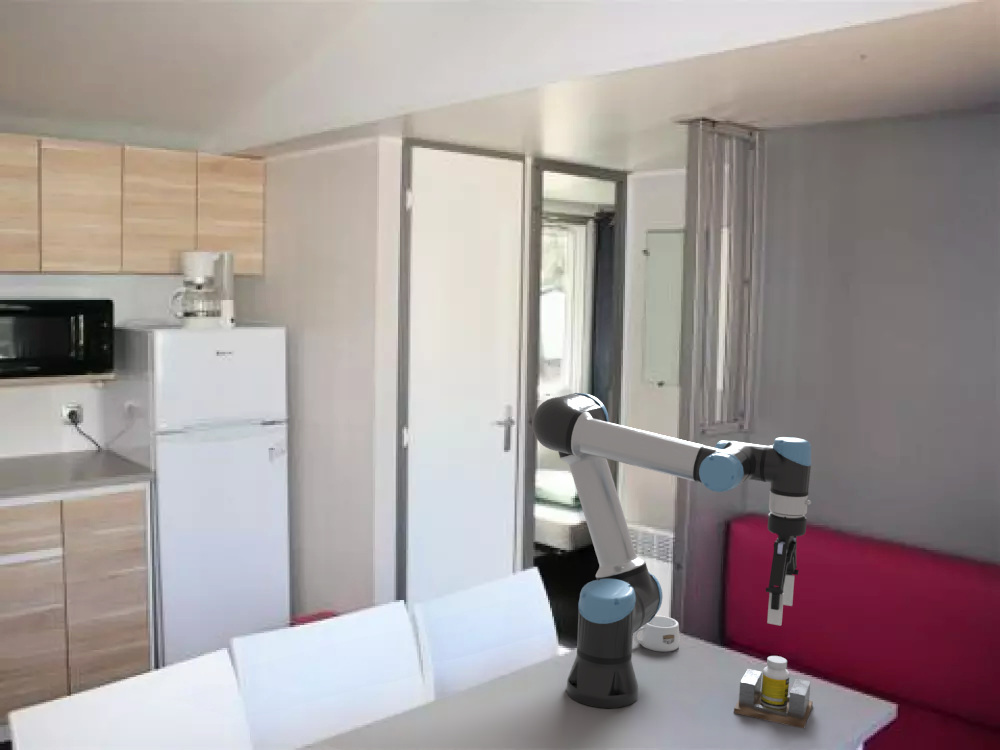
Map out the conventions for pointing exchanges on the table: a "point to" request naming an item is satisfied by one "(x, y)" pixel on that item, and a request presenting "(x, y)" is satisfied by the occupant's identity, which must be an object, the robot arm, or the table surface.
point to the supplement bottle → (775, 683)
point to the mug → (659, 634)
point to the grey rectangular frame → (749, 697)
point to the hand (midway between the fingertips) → (780, 614)
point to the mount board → (772, 717)
